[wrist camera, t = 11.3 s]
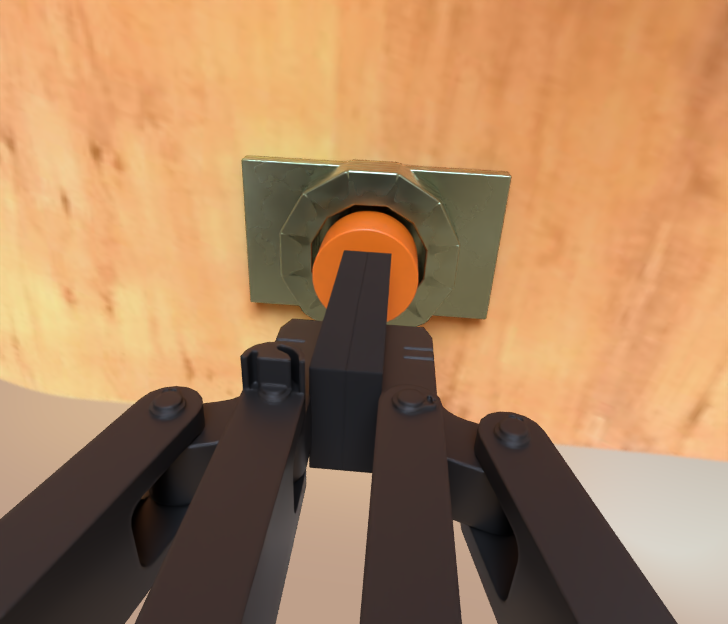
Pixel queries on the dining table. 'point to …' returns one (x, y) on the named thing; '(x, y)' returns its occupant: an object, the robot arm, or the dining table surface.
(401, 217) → the switch block
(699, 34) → the dining table surface
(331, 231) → the round orange push button
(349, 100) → the dining table surface
